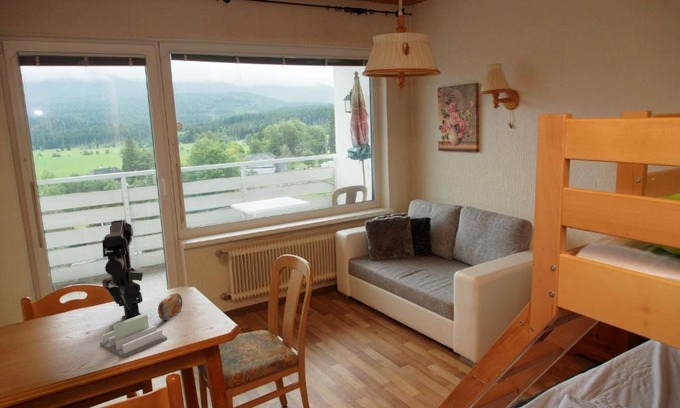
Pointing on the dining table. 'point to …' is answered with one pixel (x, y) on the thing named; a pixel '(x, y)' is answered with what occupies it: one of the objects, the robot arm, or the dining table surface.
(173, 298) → the tin
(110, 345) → the dish rack
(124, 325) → the plate slab
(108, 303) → the dining table surface
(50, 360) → the dining table surface
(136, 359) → the dining table surface
